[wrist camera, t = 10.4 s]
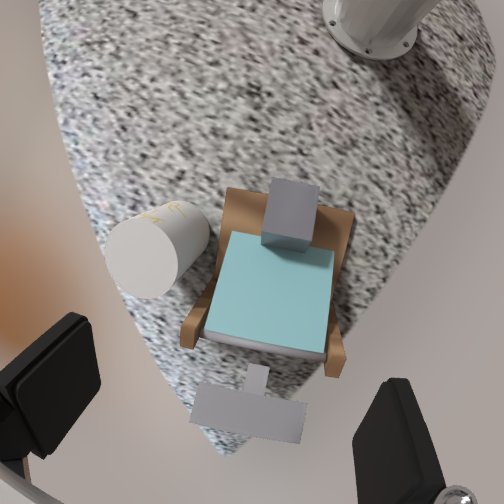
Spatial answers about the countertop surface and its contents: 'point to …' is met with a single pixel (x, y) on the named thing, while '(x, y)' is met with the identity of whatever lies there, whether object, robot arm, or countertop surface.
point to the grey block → (290, 215)
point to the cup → (156, 248)
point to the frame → (250, 222)
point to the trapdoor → (265, 332)
